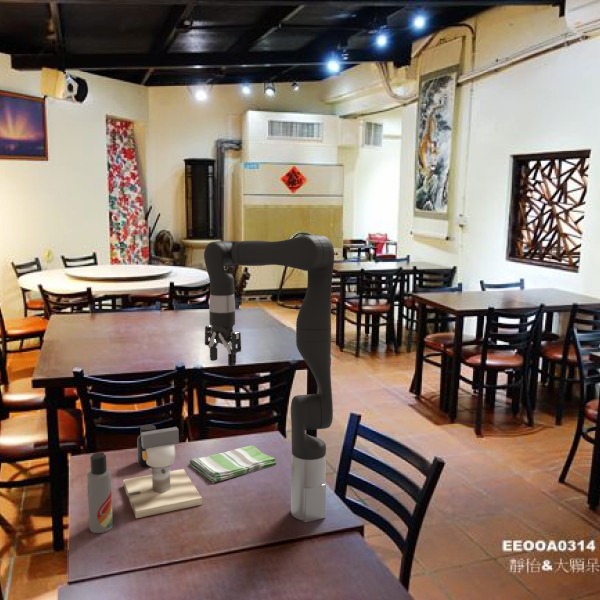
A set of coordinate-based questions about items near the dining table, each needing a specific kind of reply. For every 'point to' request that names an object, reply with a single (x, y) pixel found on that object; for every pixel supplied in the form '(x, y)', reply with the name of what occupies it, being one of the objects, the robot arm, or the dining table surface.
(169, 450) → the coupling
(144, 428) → the supplement bottle
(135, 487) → the post board
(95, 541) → the dining table surface
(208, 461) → the dish towel
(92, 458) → the lotion bottle
